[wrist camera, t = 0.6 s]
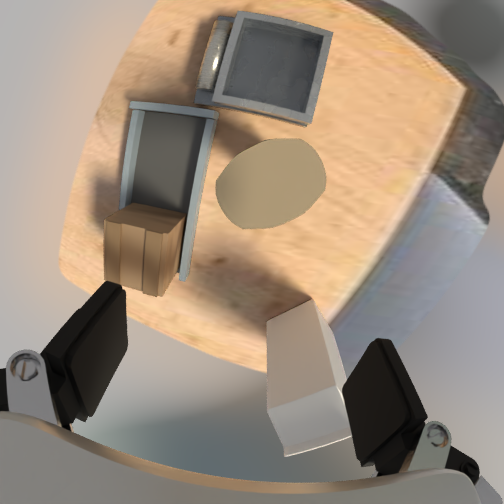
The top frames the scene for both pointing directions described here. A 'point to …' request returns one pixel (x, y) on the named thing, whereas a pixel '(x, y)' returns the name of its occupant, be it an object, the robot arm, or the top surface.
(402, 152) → the top surface
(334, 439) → the milk carton
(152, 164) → the bay
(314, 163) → the handle
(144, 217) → the crate
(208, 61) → the gray square tray
